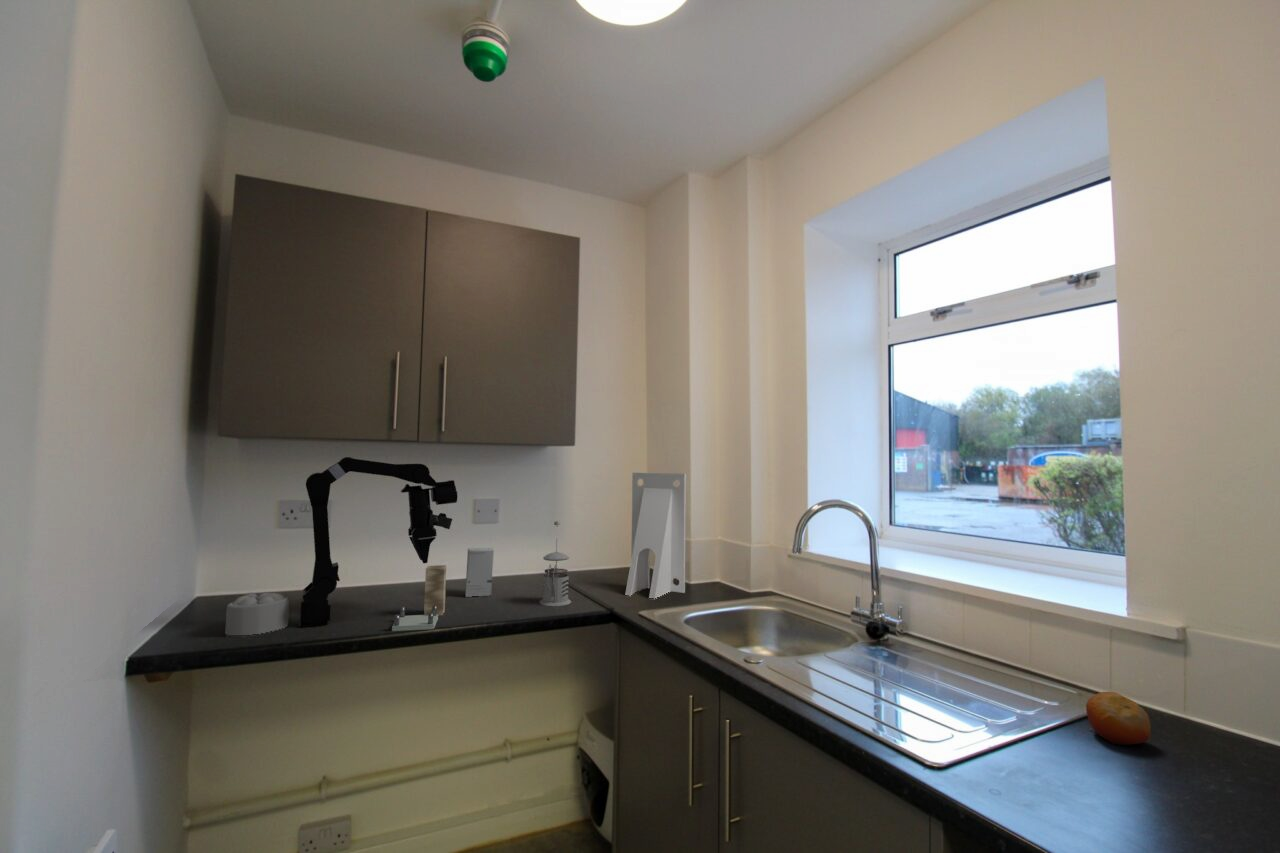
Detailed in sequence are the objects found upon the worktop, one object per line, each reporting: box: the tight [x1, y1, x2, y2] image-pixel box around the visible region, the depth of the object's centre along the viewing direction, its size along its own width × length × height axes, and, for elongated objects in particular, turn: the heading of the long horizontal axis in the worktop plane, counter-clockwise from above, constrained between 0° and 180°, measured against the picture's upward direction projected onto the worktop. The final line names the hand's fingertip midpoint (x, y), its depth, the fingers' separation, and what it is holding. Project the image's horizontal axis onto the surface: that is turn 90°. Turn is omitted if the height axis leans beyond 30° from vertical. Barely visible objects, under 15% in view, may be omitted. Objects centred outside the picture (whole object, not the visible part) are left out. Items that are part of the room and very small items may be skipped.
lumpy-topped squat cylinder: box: [224, 591, 290, 636], centre depth 147 cm, size 10×13×9 cm
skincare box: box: [464, 547, 495, 598], centre depth 188 cm, size 8×6×15 cm
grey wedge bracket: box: [624, 472, 687, 600], centre depth 194 cm, size 20×14×40 cm
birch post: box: [423, 564, 447, 616], centre depth 164 cm, size 5×5×13 cm
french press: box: [539, 520, 572, 607], centre depth 179 cm, size 10×12×25 cm
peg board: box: [391, 605, 439, 632], centre depth 153 cm, size 10×10×4 cm
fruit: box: [1085, 691, 1152, 746], centre depth 93 cm, size 8×8×8 cm
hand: (423, 561), depth 165 cm, fingers open, 9 cm apart
